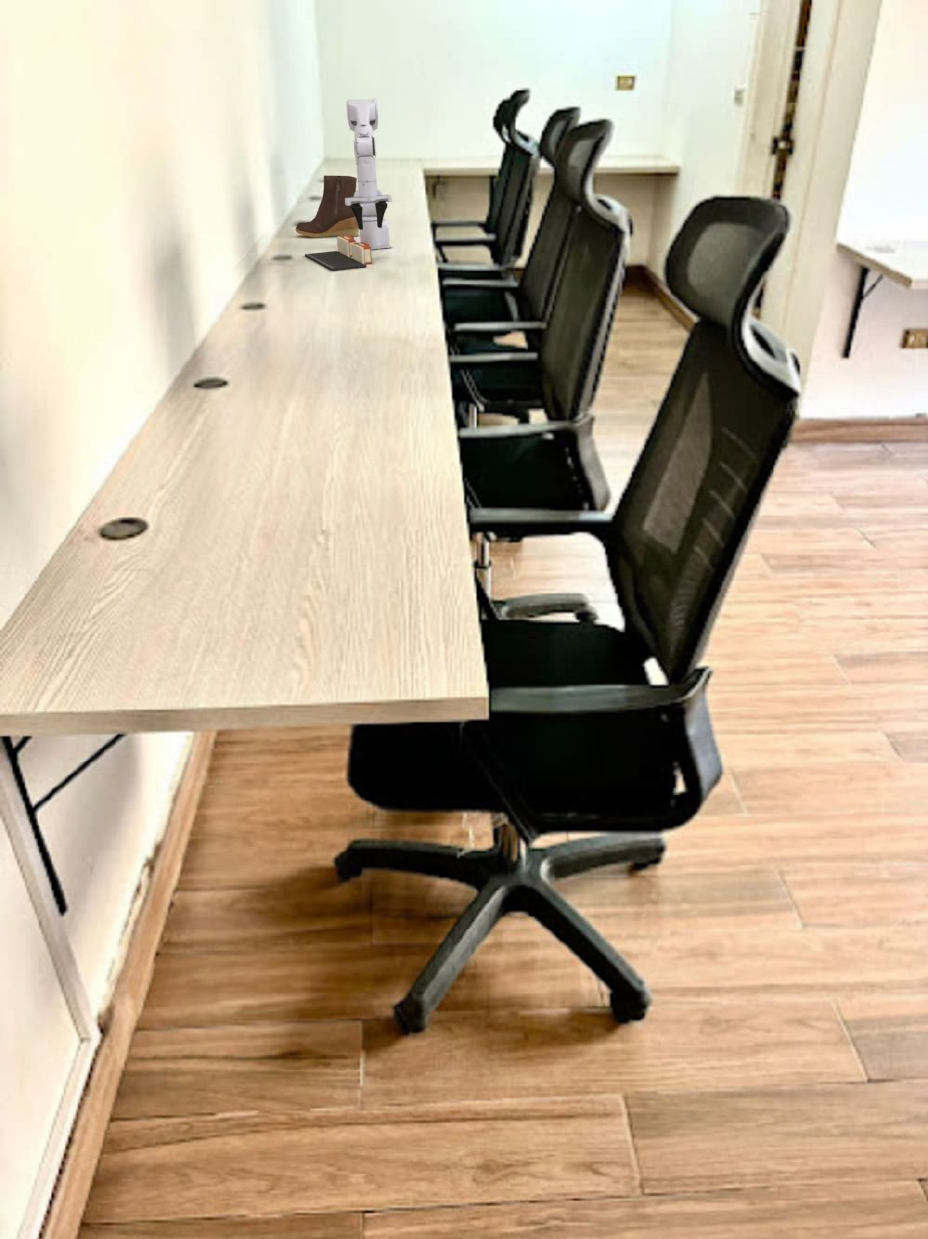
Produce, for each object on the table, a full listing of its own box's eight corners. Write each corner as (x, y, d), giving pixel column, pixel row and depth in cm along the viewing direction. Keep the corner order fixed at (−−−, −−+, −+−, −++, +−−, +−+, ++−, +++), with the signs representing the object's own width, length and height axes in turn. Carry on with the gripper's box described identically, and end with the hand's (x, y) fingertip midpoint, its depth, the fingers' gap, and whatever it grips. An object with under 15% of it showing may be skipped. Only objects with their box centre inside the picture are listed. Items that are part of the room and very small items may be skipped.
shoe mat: (337, 252, 314) (336, 250, 314) (366, 267, 293) (366, 265, 292) (305, 256, 311) (304, 253, 310) (332, 271, 289) (332, 268, 288)
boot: (299, 234, 347) (293, 173, 337) (364, 233, 345) (360, 173, 334) (293, 238, 340) (287, 176, 329) (360, 238, 337) (355, 176, 327)
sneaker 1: (350, 251, 316) (348, 235, 313) (359, 256, 308) (358, 239, 306) (338, 252, 314) (336, 236, 312) (347, 257, 307) (346, 240, 304)
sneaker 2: (364, 258, 305) (363, 241, 302) (375, 263, 298) (373, 246, 295) (352, 259, 303) (350, 243, 301) (362, 264, 296) (361, 247, 293)
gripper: (349, 184, 285) (352, 232, 292) (393, 180, 290) (396, 228, 297) (341, 181, 290) (345, 229, 297) (385, 178, 295) (388, 224, 303)
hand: (370, 228), depth 298 cm, fingers open, 6 cm apart
